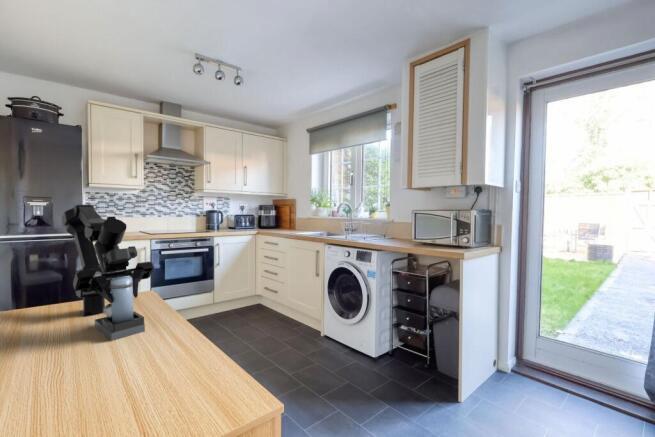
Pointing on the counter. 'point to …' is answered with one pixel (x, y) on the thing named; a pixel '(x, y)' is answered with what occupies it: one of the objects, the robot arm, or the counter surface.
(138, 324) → the dark grey open box
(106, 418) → the counter surface
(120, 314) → the dome-capped cylinder
